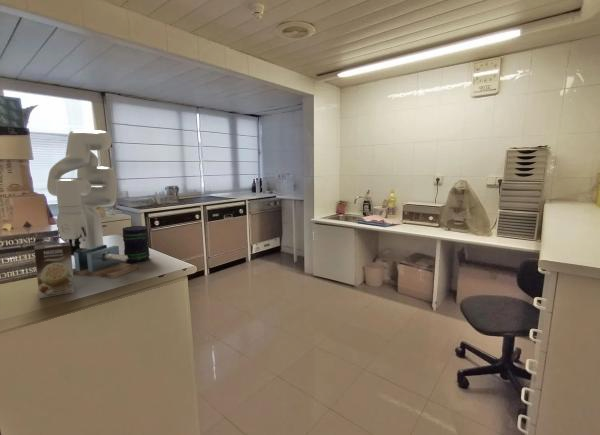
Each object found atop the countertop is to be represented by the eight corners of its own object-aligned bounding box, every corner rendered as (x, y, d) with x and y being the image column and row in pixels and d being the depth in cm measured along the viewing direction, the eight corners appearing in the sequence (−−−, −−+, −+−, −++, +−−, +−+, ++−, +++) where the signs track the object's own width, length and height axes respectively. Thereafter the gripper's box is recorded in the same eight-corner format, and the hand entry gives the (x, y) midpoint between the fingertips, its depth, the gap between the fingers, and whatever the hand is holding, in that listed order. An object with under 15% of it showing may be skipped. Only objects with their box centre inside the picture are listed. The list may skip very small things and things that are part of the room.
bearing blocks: (75, 270, 114) (73, 252, 112) (104, 261, 126) (102, 244, 125) (92, 272, 112) (91, 254, 111) (119, 262, 124) (118, 245, 123)
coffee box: (38, 299, 92) (32, 249, 90) (39, 292, 97) (32, 245, 94) (75, 291, 98) (70, 245, 96) (74, 286, 103) (69, 241, 100)
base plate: (70, 273, 115) (70, 269, 115) (97, 264, 126) (97, 260, 126) (114, 278, 111) (113, 274, 110) (137, 268, 122) (137, 264, 122)
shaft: (74, 261, 118) (73, 249, 117) (85, 258, 123) (84, 246, 122) (121, 266, 113) (120, 253, 113) (131, 262, 118) (130, 250, 117)
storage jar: (154, 259, 135) (152, 227, 132) (133, 265, 126) (131, 231, 124) (140, 256, 139) (138, 225, 137) (119, 261, 131) (117, 228, 128)
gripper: (46, 210, 116) (51, 255, 118) (76, 212, 112) (81, 258, 115) (64, 208, 123) (69, 251, 126) (94, 209, 120) (98, 253, 122)
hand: (75, 254), depth 120 cm, fingers closed
